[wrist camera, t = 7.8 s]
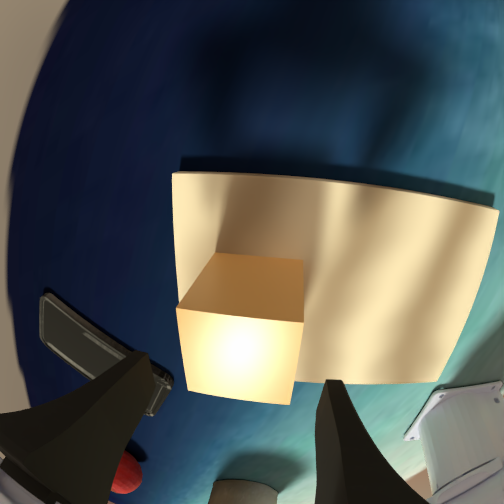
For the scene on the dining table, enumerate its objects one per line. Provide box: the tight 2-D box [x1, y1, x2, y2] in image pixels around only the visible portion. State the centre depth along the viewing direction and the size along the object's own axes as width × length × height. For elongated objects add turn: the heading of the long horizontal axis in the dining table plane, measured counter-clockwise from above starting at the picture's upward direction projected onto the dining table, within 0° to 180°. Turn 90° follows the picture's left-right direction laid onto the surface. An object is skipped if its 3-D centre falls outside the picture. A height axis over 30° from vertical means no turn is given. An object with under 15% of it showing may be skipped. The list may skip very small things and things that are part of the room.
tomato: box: [111, 450, 142, 494], centre depth 29 cm, size 9×9×8 cm
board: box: [172, 171, 499, 384], centre depth 16 cm, size 20×14×4 cm
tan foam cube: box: [176, 252, 304, 405], centre depth 15 cm, size 5×5×6 cm
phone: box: [39, 293, 174, 416], centre depth 24 cm, size 8×1×15 cm
